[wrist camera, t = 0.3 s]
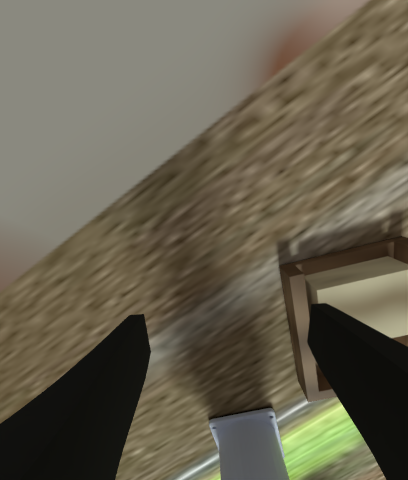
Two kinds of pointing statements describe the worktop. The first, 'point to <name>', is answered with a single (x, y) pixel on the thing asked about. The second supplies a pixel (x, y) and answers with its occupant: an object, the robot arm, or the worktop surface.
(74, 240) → the worktop surface
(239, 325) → the worktop surface
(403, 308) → the beige rectangular block
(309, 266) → the walnut box
